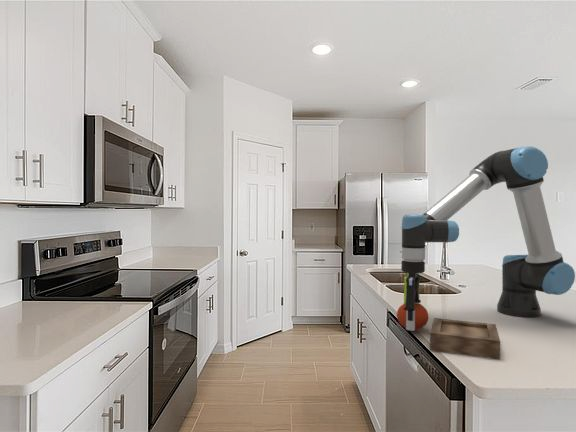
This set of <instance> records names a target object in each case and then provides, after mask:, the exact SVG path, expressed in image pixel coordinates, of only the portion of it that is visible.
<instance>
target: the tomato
mask: <svg viewBox="0 0 576 432" xmlns="http://www.w3.org/2000/svg"><path fill="white" fill-rule="evenodd" d="M409 306H411V305H409ZM405 307H406V303H405V304H404V303H402V304H401V305H400V306H399V307H398V309H397V313H396V318H397V321H398V323H399V324H400V325H401V326H402V328H405V329H406V310H404V308H405ZM428 322H429V313H428V310H427V309H426V307H425V306H424V305H423V304H421V303H419V304H417V303H416V302H415V331H418V330H422V329H423V328H424V327H425V326H426V325H427V324H428Z"/></svg>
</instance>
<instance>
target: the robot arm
mask: <svg viewBox="0 0 576 432" xmlns="http://www.w3.org/2000/svg"><path fill="white" fill-rule="evenodd" d="M548 169H549V162H548V158H547V156H546V154H545V153H544V152H543V151H542V150H541V149H539V148H537V147H534V146H519V147H515V148H511V149H506V150H500V151H497V152H494V153H492V154H491V155H489V156H487V157H486V158H484V160H482V161H481V162H479V163H478V164H476V165H475V167H473V168H472V169H471V170H470V171H469V175H468V176H467V177H465V179H464V180H462V181H461V182H460V183H458V184H457V185H456V186H455V187H454V188H453V189H451V190H450V191H448V193H447V194H446V195H444V196H443V197H442V198H440V199H439V200H438V201H437V202H436V203H435V204H433V206H432V207H430V208H429V209H427V210H426V211H425V212H424V213H422V214H404V215H403V216H402V219H401V220H402V221H401V227H400V228H401V249H399V253H401V259H402V260H401V271H402V272H403V273H407V276H408V277H407V278H406V282H407V286H406V289H407V290H406V307H405V308H404V310H406V328H405V330H406V331H413V332H414V331H416V330H415V302H416V303H417V304H421V301H422V300H421V299H420V274H423V273H425V270H426V269H425V268H426V262H425V261H424V260H426V243H446V244H447V243H455V242H456V241H458V238H459V236H460V227H459V224H458V223H457V222H456V221H455V220H450V219H451V218H452V217H453V216H454V215H456V214H457V213H458V212H460V210H461V209H462V208H464V207H465V206H467V205H468V203H470V202H471V201H472V200H473V199H475V197H477V196H479V194H480V193H482V192H483V191H487V190H489V189H490V188H492V187H493V186H495V185H497V184H501V183H505V184H506V190H508V191H510V192H512V194H513V196H514V197H513V198H514V201H515V205H516V209H517V214H518V217H519V221H520V226H521V229H522V233H523V238H524V241H525V244H526V249H527V253H528V254H506V255H504V256H503V258H502V264H501V269H502V272H501V273H502V277H501V279H502V280H501V281H502V284H501V285H502V287H501V294H500V295H499V300H498V302H497V306H496V310H497V312H498V313H499V312H500V313H501V314H503V315H508V316H515V317H524V318H536V317H540V316H541V315H542V310H541V309H542V308H541V306H540V302H539V300H538V297H537V292H542V293H545V294H546V295H554V296H555V295H556V296H561V295H564V294H566V293H567V292H568V291H570V290H571V288H572V287H573V285H574V282H575V280H576V279H575V277H576V276H575V275H576V274H575V270H574V268H573V267H572V266H571V265H570V264H569V263H567V262H564V257H563V254H562V253H561V252H559V251H558V250H556V246H555V241H554V239H553V234H552V229H551V225H550V220H549V217H548V213H547V209H546V205H545V201H544V197H543V193H542V189H541V185H543V183H544V181H545V180H544V179H545V178H544V176H545V175H546V174H547V173H548V171H547V170H548ZM408 273H409V275H408ZM409 305H411V306H409Z"/></svg>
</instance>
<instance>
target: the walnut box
mask: <svg viewBox="0 0 576 432" xmlns="http://www.w3.org/2000/svg"><path fill="white" fill-rule="evenodd" d="M432 321H433V322H432V325H431V329H430V332H429V348H430V349H429V350H430V351H435V352H441V353H449V354H456V355H462V356H463V355H464V356H472V357H479V358H480V357H481V358H485V359H486V358H488V359H494V360H501V339H500V336H499V332H498V329H497V324H495V323H487V322H477V321H467V320H458V319H457V320H456V319H448V318H439V317H434V318H433V320H432Z"/></svg>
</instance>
